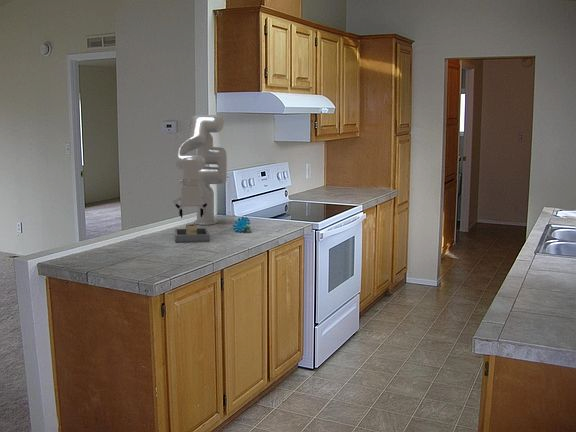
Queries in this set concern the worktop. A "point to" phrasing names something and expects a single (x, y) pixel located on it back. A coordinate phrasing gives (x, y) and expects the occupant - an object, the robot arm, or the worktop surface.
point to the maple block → (191, 229)
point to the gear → (242, 224)
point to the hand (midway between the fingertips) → (191, 216)
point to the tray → (191, 236)
